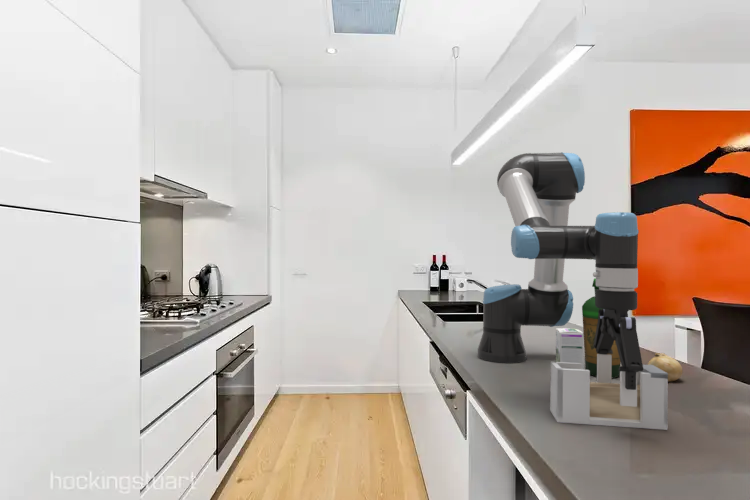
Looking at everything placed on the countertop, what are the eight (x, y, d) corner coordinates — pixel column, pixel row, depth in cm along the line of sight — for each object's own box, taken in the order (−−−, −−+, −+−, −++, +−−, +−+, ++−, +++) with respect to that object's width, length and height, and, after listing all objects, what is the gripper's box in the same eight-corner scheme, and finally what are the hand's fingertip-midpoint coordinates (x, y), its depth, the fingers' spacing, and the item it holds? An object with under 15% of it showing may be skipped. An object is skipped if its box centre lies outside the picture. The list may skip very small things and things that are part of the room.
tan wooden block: (576, 410, 93) (576, 381, 94) (649, 414, 91) (649, 385, 91) (580, 416, 90) (580, 386, 90) (656, 421, 88) (657, 390, 88)
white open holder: (550, 410, 96) (550, 360, 96) (652, 417, 92) (652, 364, 92) (557, 422, 89) (557, 367, 89) (667, 429, 86) (667, 373, 86)
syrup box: (585, 391, 109) (585, 332, 109) (559, 390, 111) (559, 331, 111) (579, 385, 115) (579, 328, 115) (554, 383, 116) (555, 327, 116)
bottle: (583, 377, 122) (584, 274, 122) (579, 368, 132) (580, 273, 132) (628, 381, 119) (628, 275, 119) (620, 371, 129) (620, 273, 129)
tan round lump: (679, 377, 123) (679, 351, 123) (685, 385, 116) (685, 358, 116) (645, 374, 126) (645, 349, 126) (649, 381, 119) (649, 354, 119)
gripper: (579, 284, 104) (578, 376, 103) (618, 294, 79) (617, 414, 79) (614, 285, 102) (613, 378, 102) (665, 295, 78) (664, 418, 78)
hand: (615, 394), depth 91 cm, fingers open, 13 cm apart
